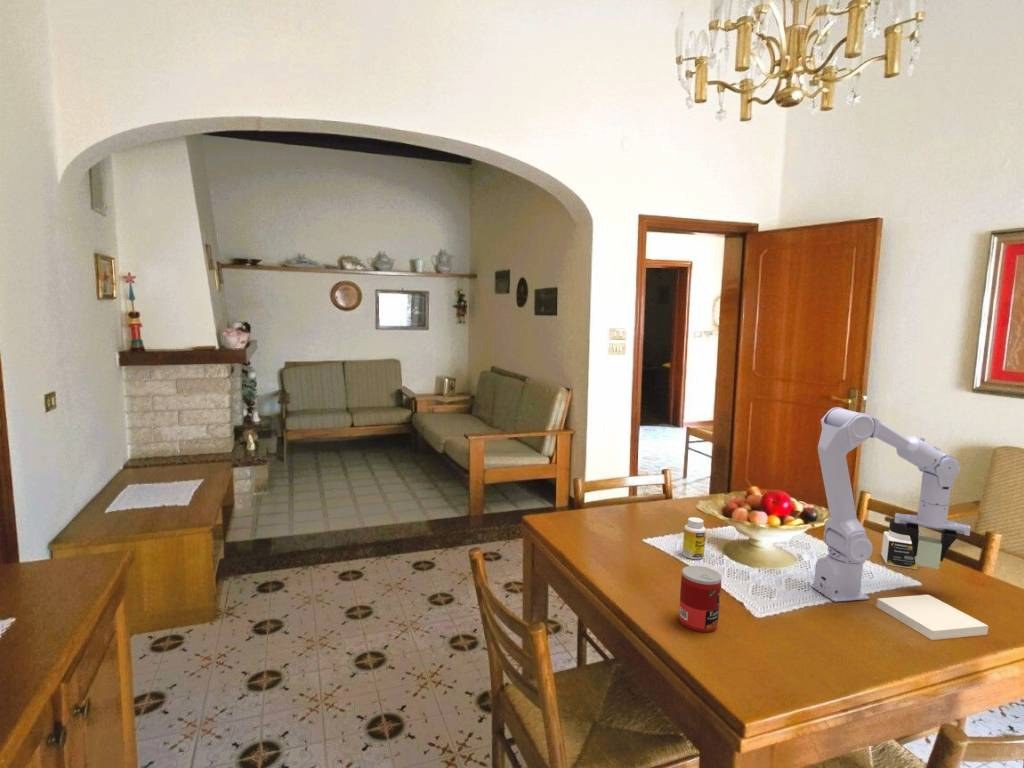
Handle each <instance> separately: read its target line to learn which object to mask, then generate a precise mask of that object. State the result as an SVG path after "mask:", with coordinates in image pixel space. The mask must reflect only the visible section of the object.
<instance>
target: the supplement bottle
mask: <svg viewBox="0 0 1024 768" xmlns="http://www.w3.org/2000/svg"><path fill="white" fill-rule="evenodd" d="M687 520H688V521H687V524H685V525H684V529H683V532H684V533H683V543H682V554H683V556H684V557H685V558H688V559H691V560H702V559H703V558H704V555H705V545H706V533H707V529H706V527H705V526H704V520H703V518H700V517H688V519H687Z"/></svg>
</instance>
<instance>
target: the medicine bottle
mask: <svg viewBox="0 0 1024 768" xmlns="http://www.w3.org/2000/svg"><path fill="white" fill-rule="evenodd" d="M888 527H889V528H888V531H883V536H882V545H881V557H882V559H883V561H884V562H885V564H886V565H888V566H893V567H899V568H904V569H905V568H906V569H911V570H918V566H919V565H916V563H915V556H913V554H912V542H911V539H910V536H909V533H908V531H907V528H906V524H904V523H895V517H892V518H891V519H890V520H889V525H888Z"/></svg>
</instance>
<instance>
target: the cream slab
mask: <svg viewBox="0 0 1024 768" xmlns="http://www.w3.org/2000/svg"><path fill="white" fill-rule="evenodd" d="M875 606H876V608H878V609H879V610H881V611H882V612H884V613H886V614H887V615H889V616H890V617H893V618H894V619H896V620H898V621H900V622H901V623H903V624H904V625H905V626H908V627H909V628H911V629H913V630H914V631H915V632H918V633H919V634H921V635H923V636H924V637H926V638H927V639H929V640H931V641H936V640H937V641H938V640H946V639H947V640H949V639H957V638H958V639H959V638H965V637H967V638H968V637H977V636H988V633H989V632H988V631H989V625H987V624H986V623H984V622H982V621H980V620H978V619H976V618H975V617H972V616H971V615H968V614H967V613H965V612H963V611H960V610H959V609H957V608H955V607H953V606H951V605H950V604H947V603H945V602H944V601H942V600H940V599H938V598H936V597H934V596H932V595H930V594H920V595H919V594H918V595H917V594H916V595H905V596H893V597H881V598H880V597H879V598H877V599H876V605H875Z"/></svg>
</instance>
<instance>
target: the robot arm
mask: <svg viewBox="0 0 1024 768" xmlns="http://www.w3.org/2000/svg"><path fill="white" fill-rule="evenodd" d="M820 425H821V431H820V432H821V433H820V435H819V441H818V444H817V452H818V458H819V465H820V470H821V474H822V475H821V476H822V479H823V480H822V481H823V486H824V491H825V496H826V501H827V507H828V511H829V512H828V513H829V518H827V519H826V520H825V521H824V531H823V538H822V539H823V542H824V543H825V545H826V546H827V552H828V553H827V555H826V556H824V557H821V558H820V557H819V558H818V559H816V560H817V561H816V563H815V568H814V578H813V579H814V581H813V584H811V585H810V587H811V586H812V587H811V588H813V589H814V588H815V591H817V590H818V592H819V593H820V592H821V593H820V594H822V595H823V594H824V595H823V596H825V597H827V598H828V599H829V600H831V601H833V602H835V603H836V602H847V601H863V600H869V598H870V597H869V596H868V595H866V594H865V593H863V592H861V587H862V579H863V578H862V576H863V570H864V569H863V568H864V564H866V561H868V560H869V558H870V557H871V555H872V553H873V549H874V548H873V544H872V541H871V540H870V539H869V538H868V536H867V532H866V529H865V528H864V527H863V525H862V523H861V522H860V520H859V519H858V518H857V517H858V516H857V511H856V506H855V500H854V493H853V490H852V489H853V488H852V484H851V478H850V471H849V465H848V461H847V455H848V453H849V452H851V451H852V450H854V449H856V448H857V447H858V446H860V445H861V444H862V443H864V442H865V441H866V440H868V439H869V438H871V439H875V438H876V439H878V440H880V441H881V442H884V443H886V444H887V445H889V446H891V447H893V448H896V454H897V455H898V457H900V458H901V459H903V460H904V461H907V462H908V463H910V464H912V465H913V466H915V467H917V469H918V470H919V472H922V475H921V483H920V484H921V485H920V492H919V499H918V500H919V501H918V507H917V508H918V509H917V514H906V513H905V514H904V513H899V512H898V513H897V512H895V514H894V518H895V523H904V524H906V528H907V531H908V533H909V536H910V539H911V542H912V554H913V556H916V555H917V541H918V535H920V528H919V527H922V528H923V527H924V528H929V529H934V530H938V531H941V537H940V540H941V543H942V549H941V557H940V562H943V561H944V559H945V555H946V554H947V552H948V550H949V548H950V547H951V546H952V545H953V543H954V542H955V541H956V540H957V538H958V534H962V535H964V536H971V535H970V534H971V526H970V525H967V524H963V523H958V522H955V521H950V520H948V515H949V506H950V499H951V491H952V487H953V485H955V480H956V478H957V476H959V475H960V472H961V469H962V468H961V467H960V464H959V462H958V461H957V458H955V456H953V455H951V454H947V453H943V452H942V451H941V448H940V447H938V446H932V445H931V444H929V443H928V442H925V441H926V438H924V437H922V436H919V435H916V436H915V435H907V436H905V435H903V434H902V433H900V432H898V431H897V430H896V429H894V428H892V427H891V426H889V425H888V424H886V423H884V422H883V421H881V420H880V419H878V418H876V417H873V416H871V415H869V414H867V413H864V412H859V411H858V412H857V411H854V410H849V409H845V408H843V407H841V406H840V407H839V406H836V407H832V408H831V409H828V411H827V412H826V413H825V414H824V416H823V417H822V418H821V419H820Z"/></svg>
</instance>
